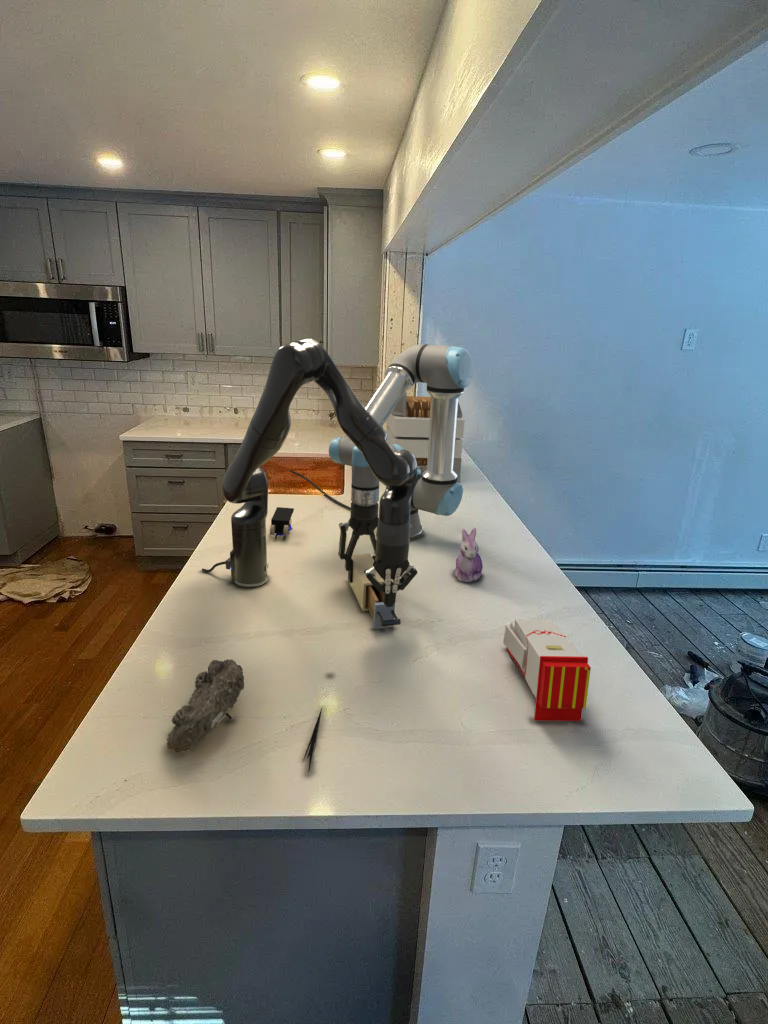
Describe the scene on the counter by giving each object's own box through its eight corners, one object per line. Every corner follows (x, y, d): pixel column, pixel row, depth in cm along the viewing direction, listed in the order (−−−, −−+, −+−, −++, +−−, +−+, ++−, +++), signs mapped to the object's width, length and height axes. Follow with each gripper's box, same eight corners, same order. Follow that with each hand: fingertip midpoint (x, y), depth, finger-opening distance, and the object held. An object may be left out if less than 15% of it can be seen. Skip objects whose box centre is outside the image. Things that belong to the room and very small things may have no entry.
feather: (331, 679, 122) (336, 673, 122) (307, 777, 96) (313, 769, 95) (324, 675, 122) (329, 669, 121) (298, 772, 95) (304, 764, 95)
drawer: (400, 638, 135) (402, 615, 133) (380, 641, 134) (381, 617, 132) (376, 594, 155) (377, 573, 153) (359, 596, 154) (360, 574, 151)
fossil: (192, 660, 117) (244, 628, 112) (224, 691, 120) (276, 661, 115) (142, 746, 98) (202, 712, 93) (182, 779, 101) (242, 748, 96)
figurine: (465, 585, 164) (469, 538, 159) (445, 571, 172) (449, 525, 167) (491, 580, 168) (496, 533, 163) (471, 566, 176) (475, 521, 171)
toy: (549, 604, 136) (599, 663, 106) (544, 656, 138) (591, 727, 109) (499, 603, 135) (535, 662, 106) (495, 655, 138) (529, 726, 109)
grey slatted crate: (382, 463, 289) (386, 382, 275) (445, 464, 293) (451, 384, 279) (390, 482, 257) (394, 392, 243) (460, 483, 261) (468, 394, 247)
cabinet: (385, 609, 150) (386, 581, 147) (362, 611, 148) (363, 583, 145) (369, 579, 165) (370, 553, 162) (348, 580, 164) (349, 555, 161)
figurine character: (289, 545, 189) (295, 524, 202) (288, 525, 186) (294, 505, 199) (269, 545, 189) (276, 524, 202) (268, 525, 185) (275, 505, 199)
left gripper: (368, 546, 123) (365, 616, 129) (425, 542, 127) (420, 610, 133) (360, 533, 130) (358, 600, 136) (415, 530, 134) (410, 595, 140)
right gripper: (332, 508, 146) (331, 588, 154) (402, 504, 152) (398, 582, 159) (327, 499, 153) (326, 576, 161) (394, 496, 158) (390, 571, 166)
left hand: (388, 605), depth 135 cm, fingers closed
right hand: (362, 579), depth 160 cm, fingers closed on cabinet, 6 cm apart
